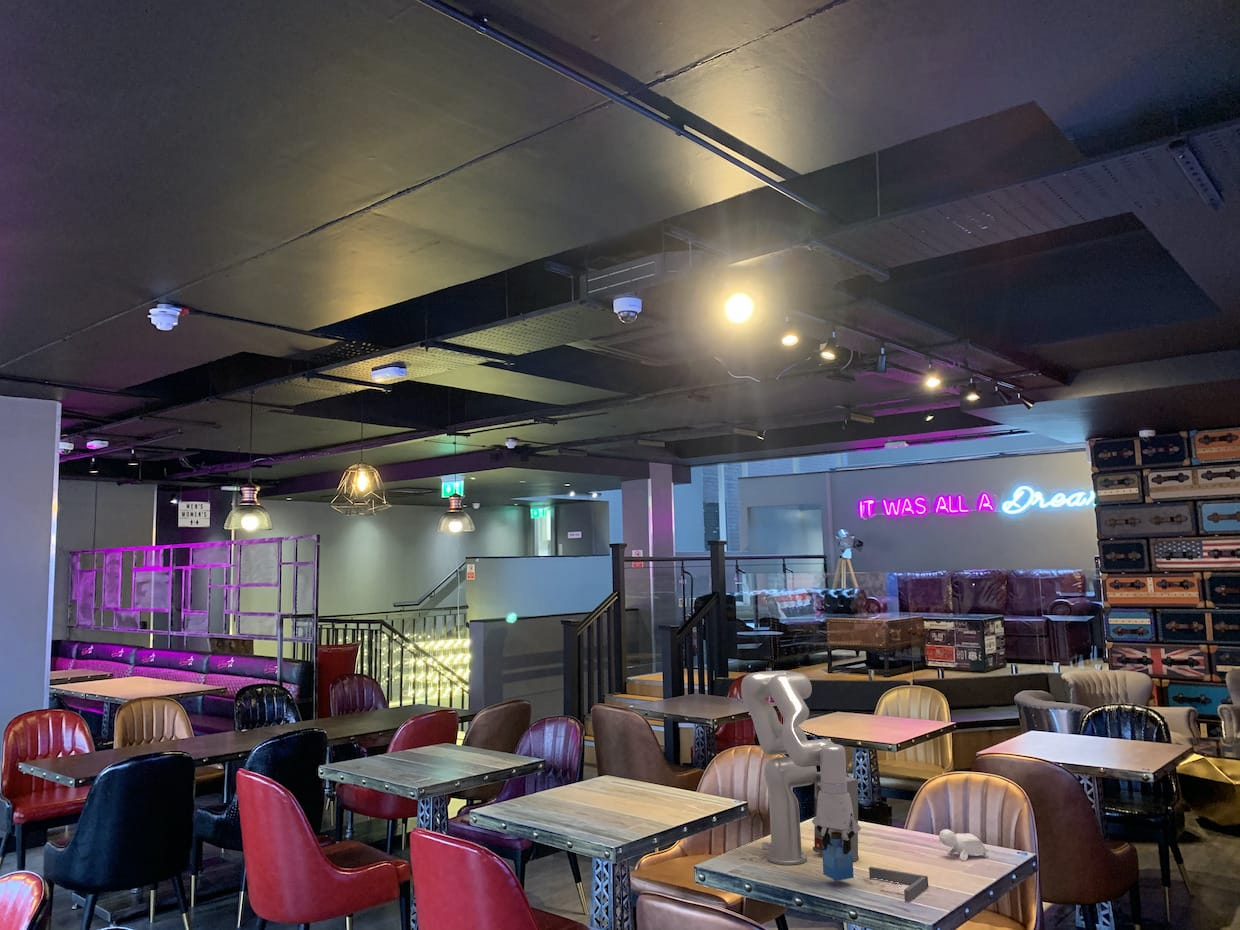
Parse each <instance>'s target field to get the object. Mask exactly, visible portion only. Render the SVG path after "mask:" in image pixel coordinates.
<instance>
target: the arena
mask: <svg viewBox="0 0 1240 930" xmlns="http://www.w3.org/2000/svg"><path fill="white" fill-rule="evenodd" d="M868 873H869V879H871V878H877V879H883V880H888V881H893V882H890V883H889V884H891V883H894V882H899V883H902V885H900V884H899V883H898V884H899V885H898V886H902V887H901V888H900V887H899V889H903V890H900V891H904V893H903V894H904V895H903V896H904V902H905V901H908V902H907V903H910V902H912V901H913V900H914V899H915V898H916V896H917V895H918V894H919V895H921V894H922V893H923V892H925V891H926V890H927V889H928V888H929V879H928V876H927V875H923V874H917V873H910V872H905V871H899V870H894V869H893V870H892V869H886V868H883V867H882V868H881V867H877V866H876V867H875V866H869V867H868ZM877 879H876V880H877ZM883 880H882V881H883ZM888 881H887V882H888ZM905 884H908V885H905ZM927 887H928V888H927ZM926 888H927V889H926ZM896 889H897V888H896ZM925 889H926V890H925ZM922 891H923V892H922ZM921 892H922V893H921ZM919 895H918V896H919ZM918 896H917V897H918ZM914 897H915V898H914ZM913 898H914V899H913ZM912 899H913V900H912ZM909 901H910V902H909Z"/></svg>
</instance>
